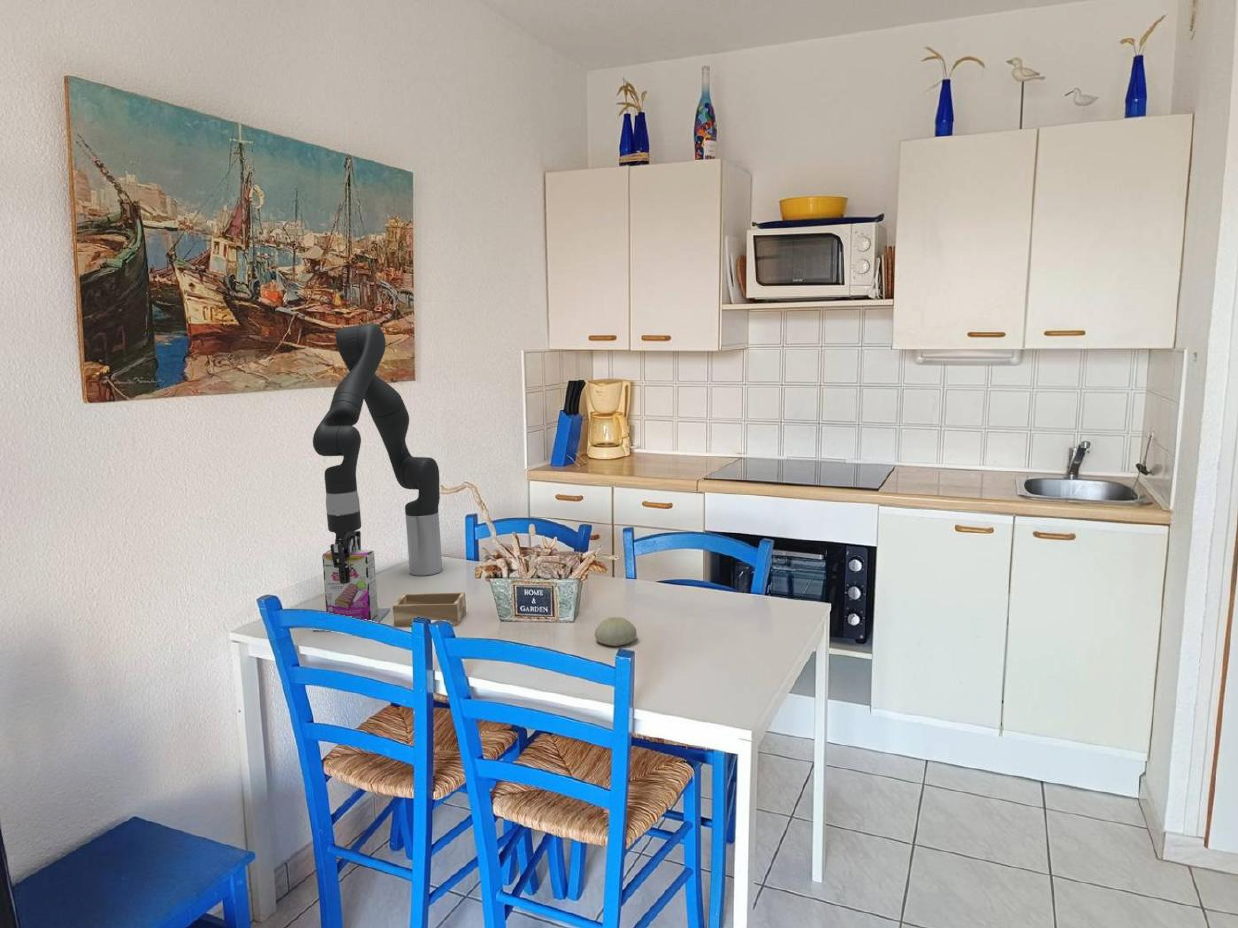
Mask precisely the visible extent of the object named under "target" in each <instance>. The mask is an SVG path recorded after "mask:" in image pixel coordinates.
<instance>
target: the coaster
mask: <svg viewBox="0 0 1238 928" xmlns="http://www.w3.org/2000/svg"><path fill="white" fill-rule="evenodd" d="M390 612H391V607H387V608H384V607H383V608H381V607H380V608H379V607H378V615H377V616H376V617H374V618H373V619H372V621H375V622H378V624H379V623H381V621H382V620H383V619H384V618H385V617H386V616H387V615H388V614H389V613H390ZM312 632H319V631H318V630H313V629H312Z"/></svg>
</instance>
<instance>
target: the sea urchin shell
mask: <svg viewBox="0 0 1238 928" xmlns="http://www.w3.org/2000/svg"><path fill="white" fill-rule="evenodd" d="M594 637H595V640H596V641H597V642H598V643H600V644H602V645H606V646H611V647H618V646H624V645H629V644H630V643H633V642H634V641H635V640H636V638H637V629H636V626H635V625H634V624H633V623H632V622H631V621H630V620H628V619H626V618H623V617H619V616H611V617H607V618H606V619H604V620H603V619H602V621H600V623H599V624H598V625H597V626H596V628H595V631H594Z"/></svg>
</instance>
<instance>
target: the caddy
mask: <svg viewBox="0 0 1238 928" xmlns="http://www.w3.org/2000/svg"><path fill="white" fill-rule="evenodd" d="M466 603H467V602H466V592H433V593H432V592H431V593H428V592H427V593H425V592H424V593H403V594H402V595H401V597H399V599H398V600H397V601H396V602H395V603H394V604H393V605H392V616H393V617H392V618H393V626H394V627H412V626H411V624H412V620H413V619H414V618H417V617H420V618H427V619H430V620H446V621H450V622H451V623H452V625H451V626H459V624H460V622H461V621H462V619H463V618H464V616H466V615H465V614H466V613H467V604H466Z"/></svg>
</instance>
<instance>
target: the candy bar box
mask: <svg viewBox="0 0 1238 928" xmlns="http://www.w3.org/2000/svg"><path fill="white" fill-rule="evenodd" d="M344 554H347V553H344ZM375 561H376V560H375V550H372V549H361V550H352V553H351V557H350V558H349V574H350V582H349V583H346V584H341V583H340V578H339V568H334V565H333V559H332V554H331V549H329V550H327V551H326V552H323V554H322V569H323V582H324V584H323V585H324V596H325V597H324V598H325V599H324V600H325V613H326V612H329V613H334V614H340V615H345V616H352V617H356V618H360V619H367V620H372V619H373V618H374V617H376V616H377V615H378V608H379V607H378V597H377V595H378V594H377V581H376V579H377V578H376V577H377V576H376V563H375Z"/></svg>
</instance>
